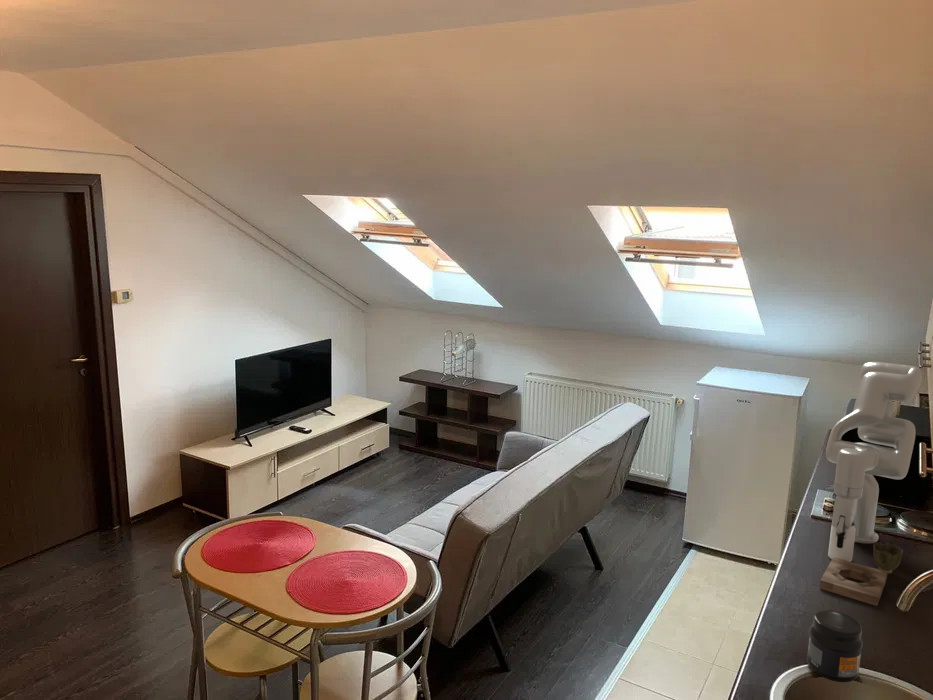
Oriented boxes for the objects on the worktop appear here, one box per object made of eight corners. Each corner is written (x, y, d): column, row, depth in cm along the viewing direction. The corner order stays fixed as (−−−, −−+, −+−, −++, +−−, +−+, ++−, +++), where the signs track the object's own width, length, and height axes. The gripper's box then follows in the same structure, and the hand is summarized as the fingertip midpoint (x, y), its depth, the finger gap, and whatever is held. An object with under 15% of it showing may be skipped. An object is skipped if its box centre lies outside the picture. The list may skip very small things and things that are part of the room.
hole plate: (832, 564, 201) (833, 557, 200) (886, 580, 192) (887, 572, 192) (819, 588, 187) (820, 580, 187) (877, 606, 178) (878, 597, 178)
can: (855, 565, 201) (859, 527, 199) (832, 562, 202) (836, 525, 200) (847, 555, 207) (851, 518, 205) (825, 552, 208) (829, 516, 206)
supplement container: (869, 682, 147) (876, 632, 145) (827, 687, 146) (833, 637, 143) (835, 653, 158) (841, 606, 156) (795, 657, 156) (801, 610, 154)
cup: (874, 576, 194) (877, 550, 193) (867, 564, 201) (870, 540, 200) (903, 580, 192) (907, 554, 191) (894, 568, 199) (898, 543, 198)
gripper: (839, 478, 210) (833, 532, 213) (828, 495, 197) (822, 552, 200) (867, 484, 205) (860, 539, 209) (857, 501, 192) (850, 559, 195)
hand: (841, 545), depth 204 cm, fingers closed on can, 5 cm apart
